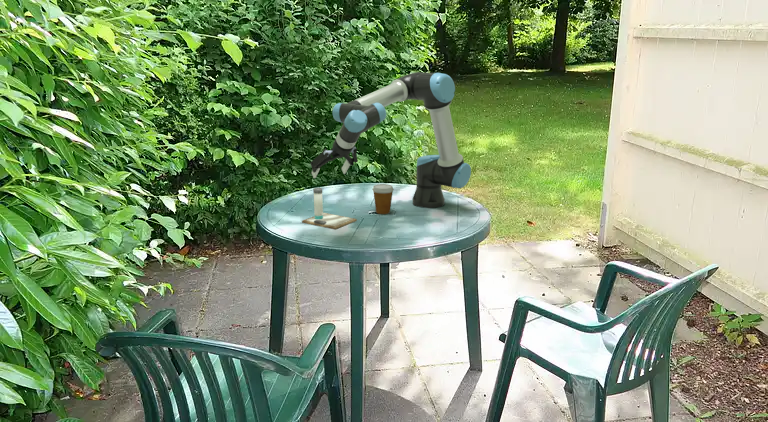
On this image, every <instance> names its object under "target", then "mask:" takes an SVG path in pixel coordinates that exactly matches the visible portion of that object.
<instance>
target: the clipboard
mask: <svg viewBox="0 0 768 422" xmlns="http://www.w3.org/2000/svg"><path fill="white" fill-rule="evenodd" d="M357 221H358V219H357V218H354V217H348V216H343V215H338V214H332V213H326V212H323V219H315V215H314V216H311V217H308V218H305V219H303V220H301V223H302V224H307V225H312V226H317V227H322V228H326V229H331V230H338V229H341V228H342V227H344V226H348V225H350V224H352V223H355V222H357Z"/></svg>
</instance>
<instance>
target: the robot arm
mask: <svg viewBox="0 0 768 422" xmlns="http://www.w3.org/2000/svg"><path fill="white" fill-rule="evenodd" d="M455 92H456V86H455V83H454V80H453V78H452V77H451V76H450V75H448V74H447V73H441V72H421V71H416V72H412V73H408V74H405V75H403V76H401V77H398V78H396V79H394V80H392V81H391V83H390V84H388V85H386V86H383V87H381V88H379V89H377V90H375V91H373V92H370V93H368V94H366V95H363V96H360V97H359V98H356V99H353V100H351V101H349V102H338V103H336V104H335V105H334V107H333V109H332V116H333V119H334V120H335V121H336V122H338V123H342V126H341V128H340V129H339V131H338V134H337V135H336V137H335V139H334V141H333V143H332V147H331V149H330V150H327V148H324V149H323V150H322V152H321V153H320V154H318V155H317V156H316V157H315V158H314V159H313V160H312V161H310V166H311V170H312V171H311V175H312V178H313V179H316V178H317V176H318V174H319V172H320V169H321V168H322V167H323V166H324V165H326V164H328V163H329V162H331V161H332V162H333V161H334V160H336V159H343V158H344V159H345V161H344V163H343V165H342V166H341V172H342V173H343V175H346V173H347V171H348V169H350V168H351V166H354V165H355V164H357V163H358V155H357V152H358V150H357V147H356V143H357V142H358V140H359V137H360V136H361V135H362V134H363V133H365V132H367V131H368V130H370V129H371V128H373V127H375V126H377V125H379V124H381V123H382V122H384V120H385V119H386V117H387V110H386V107H387V106H388V107H389V105H392V104H394V103H396V102H404V101H407V100H415V101H416V100H418V101H423V105H424V107H425V110H427V111H428V112H429V115H430V120H431V124H432V127H433V128H432V130H433V133H434V138H435V142H436V148H437V152H438V154H428V155H422V156H418V158H417V160H416V186H415V191H414V193H413V197H412V205H414V206H416V207H419V208H428V209H429V208H430V209H431V208H433V209H434V208H440V207H444V205H445V196H444V193H443V190H442V186H444V187H450V188H453V189H462V188H464V187H465V186H467V184H468V182H469V181H470V179H471V176H472V174H471V173H472V167H471V165H470V164H469V163H468V162H464V161H465V160H464V156H463V154H460V153H459V148H458V143H457V140H456V139H457V138H456V133H455V128H454V124H453V119H452V114H451V110H450V105H452V100H453V99H454V97H455ZM350 154H352V157H351V155H350ZM354 163H355V164H354Z"/></svg>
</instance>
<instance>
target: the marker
mask: <svg viewBox="0 0 768 422" xmlns="http://www.w3.org/2000/svg"><path fill="white" fill-rule="evenodd" d="M312 194H313V204H314V205H313V206H314V207H313V208H314V209H313V210H314V212H313V213H314V216H315V219H323V213H324V207H323V205H324V204H323V201H324V200H323V188H322V187H314V188H313V193H312Z"/></svg>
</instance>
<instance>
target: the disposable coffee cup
mask: <svg viewBox="0 0 768 422" xmlns="http://www.w3.org/2000/svg"><path fill="white" fill-rule="evenodd" d="M393 187H394V186H393V185H392V184H386V183H383V184H381V183H378V184H375V185H373V188H372V192H373V197H374V198H373V199H374V207H375V213H377V214H378V215H388V214H390V213H391V207H392V200H393V194H394V193H393V192H394V190H395V189H394V188H393Z"/></svg>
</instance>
